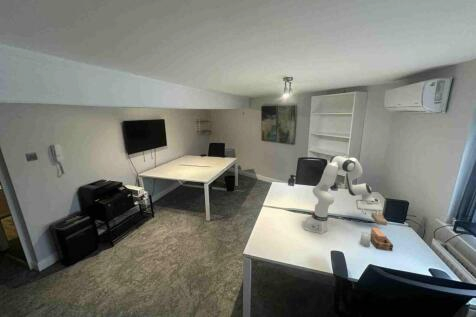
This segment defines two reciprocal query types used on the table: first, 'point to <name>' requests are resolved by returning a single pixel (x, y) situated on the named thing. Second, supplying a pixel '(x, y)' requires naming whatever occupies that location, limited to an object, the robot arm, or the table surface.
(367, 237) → the white rounded piece
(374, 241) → the lane
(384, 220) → the brick
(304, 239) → the table surface
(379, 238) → the block
